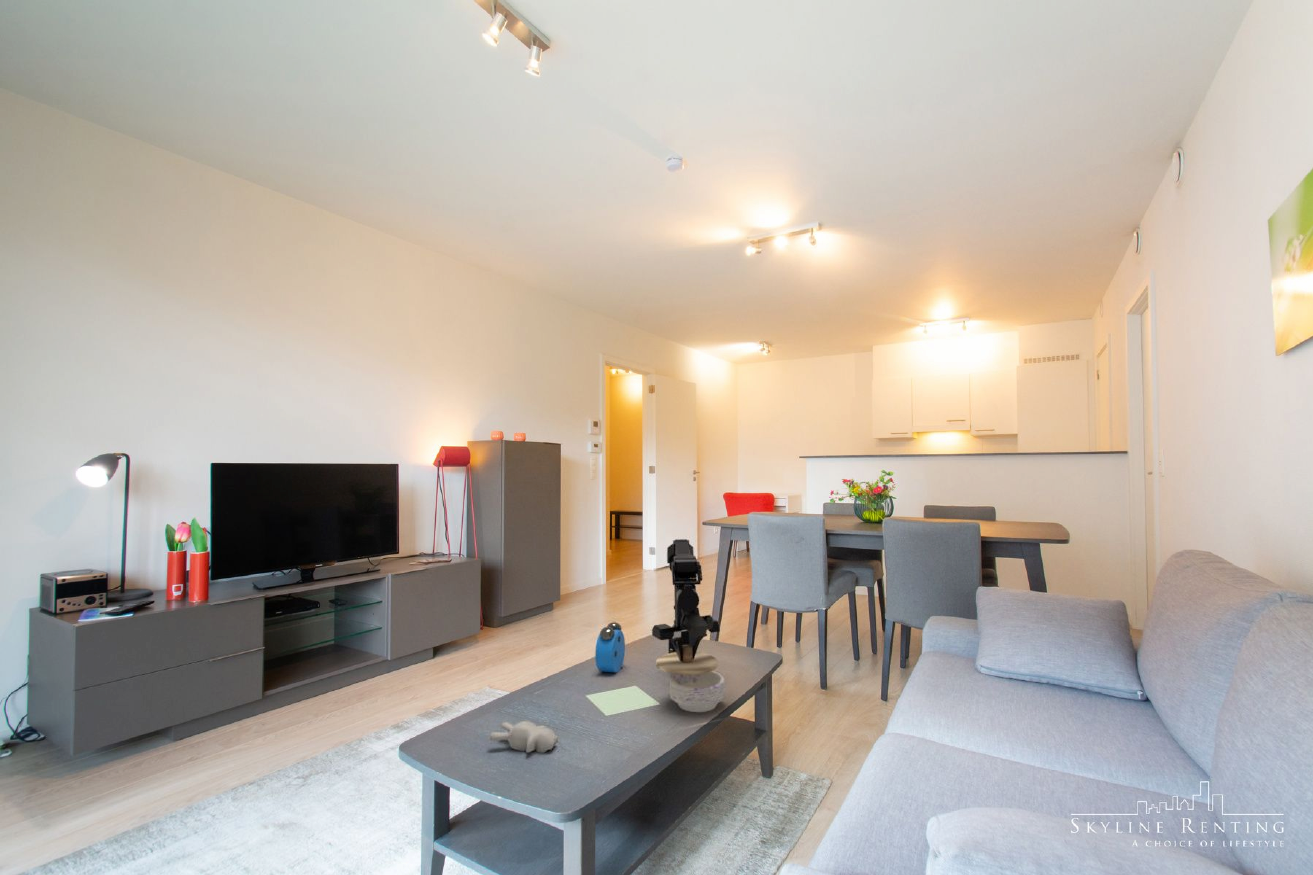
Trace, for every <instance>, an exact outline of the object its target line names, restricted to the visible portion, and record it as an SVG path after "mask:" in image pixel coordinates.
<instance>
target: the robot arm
mask: <svg viewBox="0 0 1313 875" xmlns="http://www.w3.org/2000/svg"><path fill="white" fill-rule="evenodd" d="M666 561H667V564H668V568H669V570H670V572H671V580H672V586H674V588H673V589H674V605H673V610H674V619H673V625H672V626H670V625H668V624H667V623H660V624H654V625H653V627H652V629H651V635H652V637H654V638H656V639H658V640H659V641H666V640H667V649H668V650H667V652H668V653H667V654H669V653H675V652H676V653H677V655H678V657H679V660H680V661H683V647H682V645H691V646H692V652H693V659H694V657H695V654H696V652H698V649H699V645H700V643H701V640H702V639H703V638H705V637H707V636H708V633H707V631H709V633H711V634H713V633H719V632H721V624H720V623H719V621H718V620H716V619H713V616H712V615H711V614H706V615H701V614H700V608H699V604H700V597H699V594H698V592H697V585H701V581H703V573H702V565H701V564H700V560H699V561H697V557H696V555H694V546H692V545H691V544H690V540H689V539H686V538H685V539H684V538H682V539H680V538H679V539H678V538H677V539H674V540H672V543H671V544H670V545H669V546H668V547H667V548H666Z"/></svg>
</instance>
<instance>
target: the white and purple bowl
mask: <svg viewBox="0 0 1313 875" xmlns="http://www.w3.org/2000/svg"><path fill="white" fill-rule="evenodd" d="M725 680H726V679H725V678H724V676H723V675H722V674H721V673H719V672H717V671H714V670H713V671H710V672H707V673H703V674H697V675H678V674H671V675H670V677H669V697H670V699H671V700H672V701H673V702H675V703H676V704H677V705H678V707H679V708H680V709H682V710H683V711H686V712H691V713H705V712H710V711H713V710H715V708H716V707H717V705H718V703H720V702H722V701H724V699H725V697H726V690H725V689H726V684H725Z"/></svg>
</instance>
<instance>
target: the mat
mask: <svg viewBox="0 0 1313 875" xmlns="http://www.w3.org/2000/svg"><path fill="white" fill-rule="evenodd" d="M585 697H586V698H587V699H588V700H589V701H590V702H591V703H592V704H593V705H595V707H596V708H597V709H598V710H600V711H601V712H602V713H603V714H604V715H605V716H606V717H608V716H612V715H616V714H618V715H619V714H622V713H627V712H632V711H635V710H641V709H645V708H650V707H654V706H659V705H661V703H660V702H658V701H657V700H655V699H654V698H653V697H652V696H650V695H649V694H647V693H646V692H645V691H643V690H642V689H641V688H639V686H637V685H632V686H628V687H623V688H616V689H613V690H607V691H602V692H597V693H591V694H586V695H585Z"/></svg>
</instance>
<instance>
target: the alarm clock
mask: <svg viewBox="0 0 1313 875" xmlns="http://www.w3.org/2000/svg"><path fill="white" fill-rule="evenodd" d="M622 629H623V628H622V626H621V624H620V623H618V622H616V621H612V622H610V623H608V624H607V626H605V627H603V628H602V629H601V630H600V632H599V634H598V636H597V640H596V644H595V652H594V655H595V656H594V658H595V666H596V667H597V670H598V671H600V674H602V673H619V671H621V669H622V668H623V664H624V660H625V653H626V641H625V640H626V639H625V635H624V633H623V631H622Z"/></svg>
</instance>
